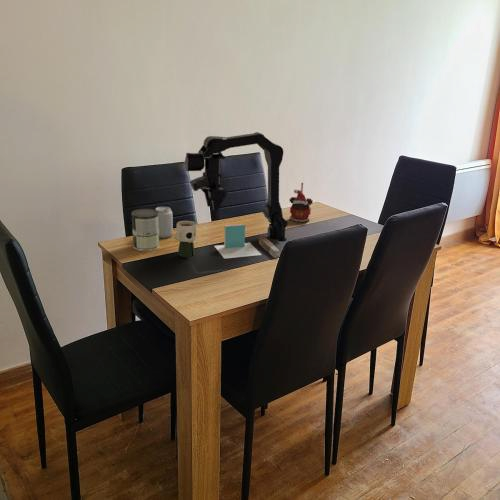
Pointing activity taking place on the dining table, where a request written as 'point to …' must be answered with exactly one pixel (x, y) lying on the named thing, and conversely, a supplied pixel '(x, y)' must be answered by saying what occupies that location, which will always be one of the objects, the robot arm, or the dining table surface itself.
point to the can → (165, 222)
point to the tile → (234, 236)
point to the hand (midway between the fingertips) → (212, 209)
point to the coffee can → (145, 229)
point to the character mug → (186, 238)
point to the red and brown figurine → (300, 206)
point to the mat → (238, 251)
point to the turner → (269, 247)
